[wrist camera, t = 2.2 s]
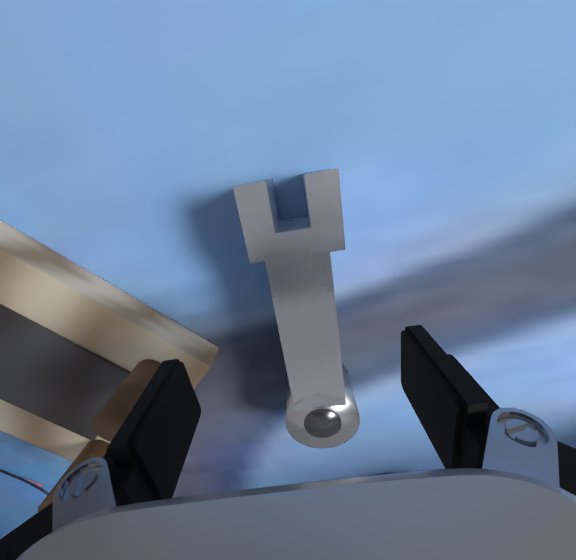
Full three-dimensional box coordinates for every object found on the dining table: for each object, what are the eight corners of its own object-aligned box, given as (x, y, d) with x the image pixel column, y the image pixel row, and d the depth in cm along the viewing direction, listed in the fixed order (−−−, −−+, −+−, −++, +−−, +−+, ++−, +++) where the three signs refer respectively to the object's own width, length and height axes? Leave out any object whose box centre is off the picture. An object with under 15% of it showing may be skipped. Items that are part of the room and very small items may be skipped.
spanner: (246, 183, 15) (231, 186, 11) (328, 169, 14) (338, 168, 11) (292, 405, 20) (291, 453, 17) (350, 399, 20) (362, 447, 17)
